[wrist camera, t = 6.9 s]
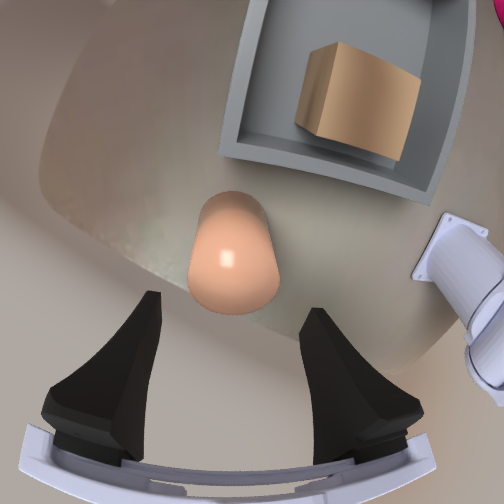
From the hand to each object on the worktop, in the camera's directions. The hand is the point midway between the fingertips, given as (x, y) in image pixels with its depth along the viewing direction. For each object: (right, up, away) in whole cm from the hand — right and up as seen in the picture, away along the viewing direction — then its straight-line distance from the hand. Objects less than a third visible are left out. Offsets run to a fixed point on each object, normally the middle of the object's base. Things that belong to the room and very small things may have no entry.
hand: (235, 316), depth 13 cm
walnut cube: (+6, +13, +2) cm, 15 cm away
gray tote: (+7, +17, 0) cm, 18 cm away
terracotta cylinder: (-1, +5, +8) cm, 10 cm away
